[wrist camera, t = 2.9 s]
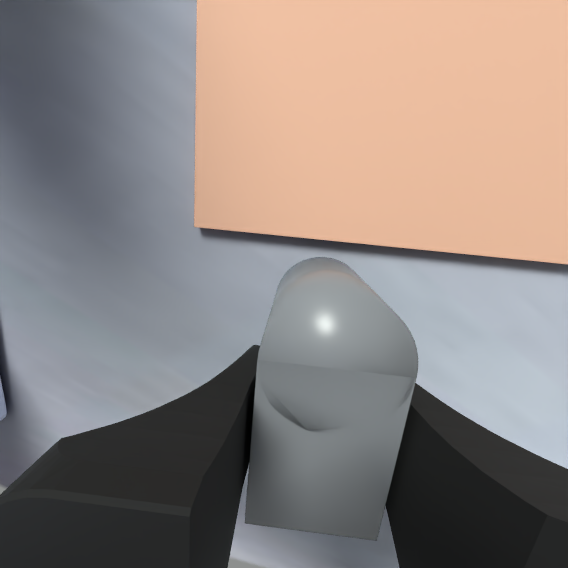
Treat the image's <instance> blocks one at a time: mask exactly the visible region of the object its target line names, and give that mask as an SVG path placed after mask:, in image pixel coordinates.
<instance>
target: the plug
mask: <svg viewBox="0 0 568 568" xmlns="http://www.w3.org/2000/svg"><path fill="white" fill-rule="evenodd" d="M417 372H418V354H417V348H416V345H415V341H414V339H413V337H412V335H411V332H410V330H409V329H408V327H407V326H406V324H405V323H404V322H403V321H402V320H401V318H400V317H399V316H398V315H397V314H396V313H395V312H394V311H393V310H392V309H391V308H390V307H389V306H388V305H387V304H386V303H385V302H384V301H383V300H382V299H381V298H380V297H379V296H378V295H377V294H376V293H375V292H374V291H373V290H372V289H371V288H370V287H369V286H368V285H367V284H366V283H365V282H364V281H363V280H362V279H361V278H360V277H359V276H358V275H357V274H356V273H355V272H354V271H353V270H352V269H351V268H350V267H349V266H348V265H346V264H344V263H343V262H340V261H338V260H335V259H332V258H326V257H316V258H310V259H307V260H304V261H301V262H299V263H298V264H296V265H294V266H293V267H292V268H291V269H289V270H288V271H287V272H286V274H285V275H284V276H283V278H282V279H281V281H280V283H279V285H278V288H277V292H276V295H275V298H274V302H273V305H272V308H271V312H270V315H269V318H268V322H267V325H266V328H265V332H264V335H263V338H262V342H261V345H260V348H259V353H258V359H257V372H256V384H255V397H254V410H253V423H252V436H251V449H250V461H249V474H248V487H247V500H246V513H245V523H246V524H254V525H261V526H269V527H276V528H284V529H291V530H299V531H307V532H314V533H322V534H329V535H337V536H345V537H352V538H360V539H367V540H375V541H377V537H378V533H379V529H380V525H381V521H382V517H383V513H384V509H385V505H386V501H387V496H388V492H389V488H390V484H391V480H392V476H393V472H394V468H395V464H396V460H397V455H398V451H399V447H400V443H401V439H402V435H403V431H404V427H405V423H406V419H407V415H408V410H409V406H410V402H411V398H412V394H413V390H414V386H415V382H416V378H417Z"/></svg>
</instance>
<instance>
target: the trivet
mask: <svg viewBox="0 0 568 568" xmlns="http://www.w3.org/2000/svg"><path fill="white" fill-rule="evenodd" d="M194 227H200V228H210V229H220V230H230V231H240V232H250V233H260V234H270V235H280V236H290V237H300V238H310V239H320V240H330V241H340V242H350V243H360V244H370V245H380V246H390V247H400V248H410V249H420V250H430V251H440V252H450V253H460V254H470V255H480V256H490V257H500V258H510V259H520V260H530V261H540V262H550V263H560V264H568V0H197V43H196V124H195V205H194Z"/></svg>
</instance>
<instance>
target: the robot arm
mask: <svg viewBox="0 0 568 568" xmlns="http://www.w3.org/2000/svg"><path fill="white" fill-rule="evenodd" d="M259 348H260V346H258V345H253V346H252V347H251V348H250V349H248V350H247V351H246V352H245V353H244V354H243V355H242V356H241V357H240V358H239V359H237V360H236V361H235V362H234V363H233V364H231V365H230V366H229V367H228V368H227V369H225V370H224V371H223V372H221V373H220V374H219V375H217V376H216V377H214V378H213V379H212V380H210V381H209V382H207V383H205V384H204V385H202V386H201V387H199V388H197V389H195V390H193V391H192V392H190V393H188V394H186V395H184V396H182V397H180V398H178V399H176V400H174V401H171V402H169V403H167V404H165V405H163V406H161V407H158V408H156V409H154V410H151V411H149V412H146V413H143V414H141V415H138V416H135V417H132V418H130V419H127V420H124V421H121V422H118V423H115V424H112V425H108V426H105V427H101V428H98V429H94V430H91V431H87V432H83V433H80V434H76V435H73V436H69V437H65V438H61V439H60V440H59V441H58V442H57V443H56V444H54V445H53V446H52V447H51V448H50V449H49V450H48V451H47V452H46V453H45V454H44V455H42V456H41V457H40V458H39V459H38V460H37V461H36V462H35V463H34V464H33V465H32V466H31V467H30V468H28V469H27V470H26V471H25V472H24V473H23V474H22V475H21V476H20V477H19V478H18V479H17V480H16V481H15V482H13V483H12V484H11V485H10V486H9V487H8V488H7V489H6V490H5V491H4V492H3V493H2V494H1V495H0V568H227V567H228V561H229V556H230V551H231V545H232V540H233V534H234V529H235V524H236V519H237V513H238V508H239V503H240V497H241V492H242V488H243V484H244V480H245V476H246V472H247V469H248V465H249V461H250V449H251V436H252V423H253V410H254V397H255V384H256V372H257V359H258V353H259ZM6 415H7V410H6V404H5V399H4V393H3V388H2V383H1V377H0V421H1V420H2V419H4V418H5V417H6ZM385 506H386V509H387V513H388V517H389V522H390V526H391V531H392V535H393V539H394V544H395V548H396V553H397V558H398V562H399V567H400V568H568V469H566V468H564V467H562V466H559V465H557V464H555V463H553V462H551V461H549V460H546V459H544V458H542V457H540V456H538V455H536V454H534V453H532V452H530V451H528V450H526V449H524V448H522V447H520V446H518V445H516V444H514V443H512V442H510V441H508V440H506V439H504V438H502V437H500V436H498V435H496V434H494V433H493V432H491V431H489V430H487V429H486V428H484V427H482V426H480V425H479V424H477V423H475V422H473V421H472V420H470V419H468V418H467V417H465V416H463V415H462V414H460V413H458V412H457V411H455V410H454V409H452V408H451V407H449V406H448V405H446V404H445V403H443V402H442V401H440V400H439V399H437V398H436V397H434V396H433V395H431V394H430V393H429V392H427V391H426V390H424V389H423V388H422V387H420V386H419V385H418V384H416V383H415V386H414V390H413V394H412V398H411V402H410V406H409V410H408V415H407V419H406V423H405V427H404V431H403V435H402V439H401V443H400V447H399V451H398V455H397V460H396V464H395V468H394V472H393V476H392V480H391V484H390V488H389V492H388V496H387V501H386V505H385Z"/></svg>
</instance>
